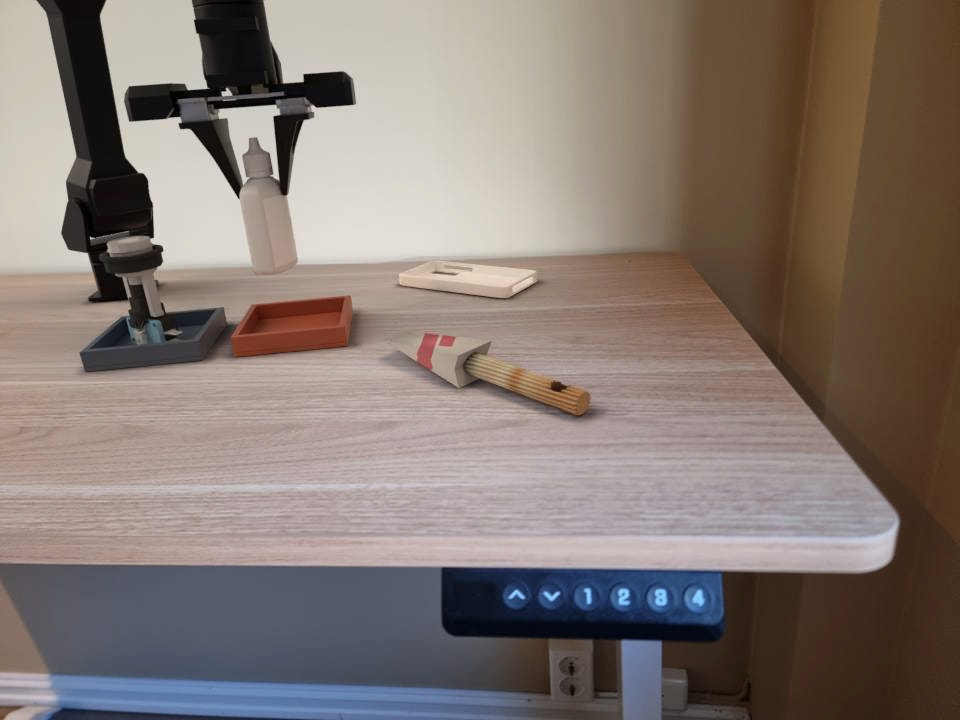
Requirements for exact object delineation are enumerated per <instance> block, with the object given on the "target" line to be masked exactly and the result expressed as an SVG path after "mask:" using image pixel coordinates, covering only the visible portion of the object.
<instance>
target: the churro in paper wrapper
mask: <svg viewBox="0 0 960 720" xmlns="http://www.w3.org/2000/svg"><path fill="white" fill-rule="evenodd" d="M383 341H384V342H385V343H387V344H388V345H390V346H392V347H393V348H394V349H396V350H398V351H399V352H401V353H402V354H404V355H406V356H407V357H409V358H410V359H412V360H413V361H415V362H416V363H418V364H420V365H421V366H423V367H425V368H426V369H428V370H430V371H431V372H432V373H434V374H436V375H437V376H438V377H440V378H442V379H444V380H445V381H447V382H448V383H450V384H452V386H454V387H456V388H458V389H461V388H463V387H465V386H467V385H470V384H471V383H473V382H475V381H477V380H482V381H486V382H488V383H490V384H493V385H497V386H499V387H500V388H501V387H502V388H504V389H506V390H510V391H512V392H513V393H517V394H519V395H522V396H525V397H526V398H527V397H528V398H529V399H532V400H535V401H538V402H540V403H543V404H546V405H548V406H554V407H556V408H559V409H560V410H562V411H565V412H567V413H570V414H572V415H575V416H581V415H584V414H585V413H586V412H587V411H588V409H589V408H590V405H591V400H592V397H591V394H590V392H589V391H588V390H585V389H583V388H580V387H577V386H573V385H571V384H569V385H567V384H564V383H562V381H559V380H556V379H554V378H550V377H548V376H545V375H542V374H540V373H536V372H533V371H531V370H527V369H524V368H521V367H519V366H516V365H513V364H510V363H508V362H504V361H501V360H499V359H495V358H493V357H490V356H487V355H488V352H489V351H490V347H491V345H492V341H493V340H488V339H480V338H473V337H472V338H471V337H462V336H455V335H446V334H438V333H437V334H436V333H427V332H419V331H418V332H417V331H411V330H406V331H404V332H401V333H398V334H395V335H394V336H391V337H388V338H386V339H383Z"/></svg>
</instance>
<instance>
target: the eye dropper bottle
mask: <svg viewBox="0 0 960 720" xmlns="http://www.w3.org/2000/svg"><path fill="white" fill-rule="evenodd" d="M241 157H242V162H243V168H244V172H245V177H246V178H248V179H246V182H244V183H243V186H242V188H241V191H240V199H239V204H240V210H241V214H242V219H243V220H242V221H243V225H244V230H245V236H246V240H247V245H248V250H249V255H250V261H251V266H252V270H253V273H254V274H255V275H257V276H263V275H264V276H270V275H271V276H272V275H278V274H282V273H284V272H287V271H289V270H291V269H293V268H294V267H295V266H297V264H298V261H299V257H298V251H297V246H296V239H295V234H294V229H293V223H292V215H291V211H290V205H289V200H288V195H287V196H283V194H282V190H281V186H280V181H279V179H277V178H276V177H274V167H273V162H272V158H271V157H272V156H271V152H269V151H266V150H264V149H263V148H262V147H261V145H260V142H259V139H258V137H256V136H254V137H248V149H247V151H246V152H244V153H243V154H242V156H241Z"/></svg>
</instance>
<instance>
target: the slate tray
mask: <svg viewBox="0 0 960 720" xmlns="http://www.w3.org/2000/svg"><path fill="white" fill-rule="evenodd" d="M165 312H166V314H167V315H173V316H174V317H175V318H176V322H177V326H178V331H181V332H182V333H181V334H178V335H176V337H177V339H179V340H181V341H171V342H160V343H150V344H139V345H137V344H135V343H133V342H132V340H131V335H130V332H129V328H128V324H127V321H126V318H127V317H129V315H123V316H120V317H119V318H118V319H116V320H115V322H113V323H112V324H111V325H110V326H109V327H107V328H106V329H105V330H103V332H102V333H100V334H98V336H97V337H95V338H94V339H92V341H91V342H89V344H87V345H86V346H85V347H84V348H82V350H80V351H79V352H78V353H79V356H80V360H81V362H82V366H83V369H84V370H83V371H84V372H86V373H87V372H97V371H106V370H107V371H108V370H117V369H128V368H138V367H139V368H140V367H147V366H148V367H149V366H156V365H157V366H158V365H169V364H177V363H179V364H180V363H188V362H197V361H203V360H204V359H205V357H206V356H207V354H208V353H209V352H210V350H211V349H212V347H213V346H214V345H215V343H216V341H217V340H218V339H219V337H220V336H221V334H222V333H223V331H224V330H225V328H226V327H227V325H228V320H227V316H226V311H225V307H224V306H219V307H208V308H198V309H185V310H176V311H165Z"/></svg>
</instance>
